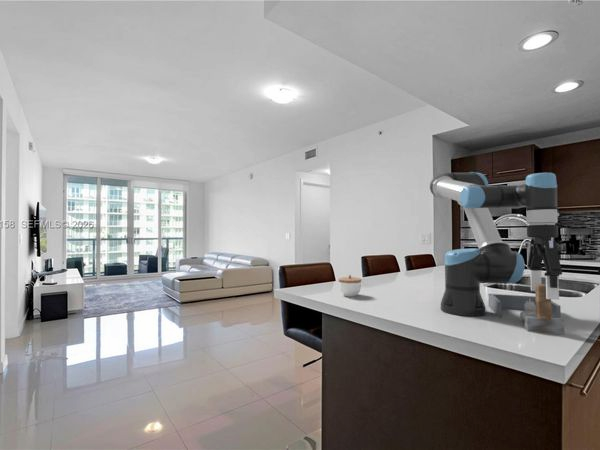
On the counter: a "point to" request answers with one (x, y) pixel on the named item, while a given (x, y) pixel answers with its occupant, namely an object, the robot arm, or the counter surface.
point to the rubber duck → (528, 309)
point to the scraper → (543, 315)
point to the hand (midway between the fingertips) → (543, 294)
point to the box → (517, 303)
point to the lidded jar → (350, 286)
